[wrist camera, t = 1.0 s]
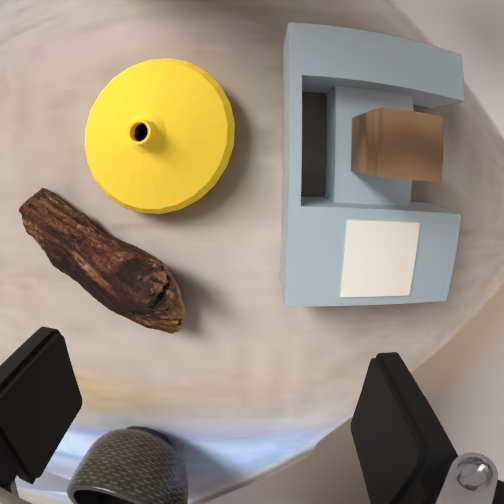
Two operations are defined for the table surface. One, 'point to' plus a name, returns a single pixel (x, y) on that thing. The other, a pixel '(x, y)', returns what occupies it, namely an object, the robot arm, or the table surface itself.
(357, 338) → the table surface
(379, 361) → the robot arm
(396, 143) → the walnut block
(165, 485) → the planter
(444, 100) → the slot box
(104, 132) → the yellow piece
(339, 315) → the table surface
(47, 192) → the driftwood
